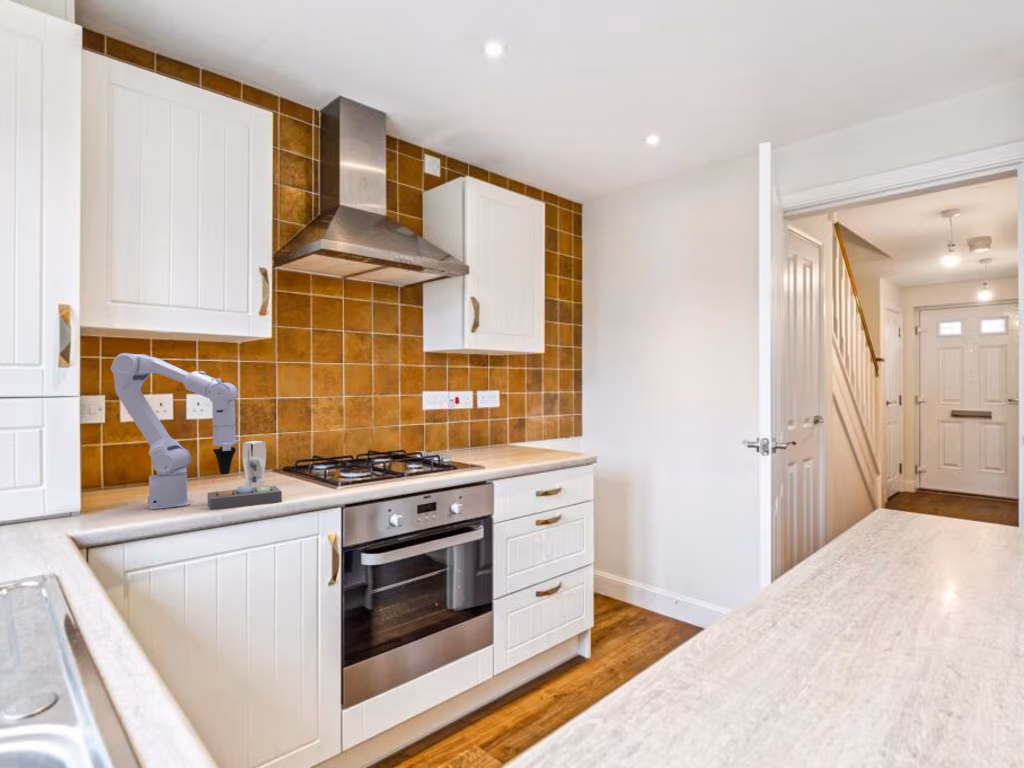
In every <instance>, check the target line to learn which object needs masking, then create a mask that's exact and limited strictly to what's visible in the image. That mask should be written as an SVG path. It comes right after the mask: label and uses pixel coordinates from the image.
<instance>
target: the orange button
mask: <svg viewBox="0 0 1024 768" xmlns="http://www.w3.org/2000/svg"><path fill="white" fill-rule="evenodd" d="M220 491H221V490H220ZM220 491H217V492H218V496H226V495H232V491H230V490H222V491H221V492H220Z"/></svg>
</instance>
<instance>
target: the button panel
mask: <svg viewBox="0 0 1024 768" xmlns="http://www.w3.org/2000/svg"><path fill="white" fill-rule="evenodd" d="M268 487H270V491H264V492H257V488H252V493H245V494H238V489H233V490H229V491H232V495H226V496H218V492H221V490H220V491H211V492H207V505H208V507H209V509H210V511H214V510H213V509H217V510H222V509H223V510H225V509H231V508H232V509H233V508H241V507H249V506H250V507H251V506H256V505H267V504H274V503H282V502H283V499H282V497H283V496H282V490H281V489H279V487H277V486H276V485H271V486H268ZM259 488H260V487H259Z"/></svg>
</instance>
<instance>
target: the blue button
mask: <svg viewBox="0 0 1024 768" xmlns="http://www.w3.org/2000/svg"><path fill="white" fill-rule="evenodd" d="M237 490H238V494H245V493H252V486H245V485H240V486H238V487H237Z"/></svg>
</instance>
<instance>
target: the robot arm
mask: <svg viewBox="0 0 1024 768" xmlns="http://www.w3.org/2000/svg"><path fill="white" fill-rule="evenodd" d="M109 369H110V370H111V372H112V374H113V380H114V381H113V382H114V392H115V394H116V395H117V398H119V401H120V402H121V404H123V406H124V408H125V410H126V411H127V412H128V414H129V416H130V417H131V419H132V420H133V422H134V423H135V425H136V427H137V428H138V430H139V431H140V433H141V434H142V436H143V438H144V439H145V441H146V442H147V445H149V451H148V456H149V457H150V458H151V459H150V460H151V465H152V468H153V470H154V471H155V472H156V474H154V475H153V474H151V475H149V476H148V487H149V490H148V493H149V494H148V496H147V503H149V510H158V509H168V508H177V507H187V506H190V505H191V504H190V500H189V499H188V473H187V472H188V470H187V467H188V466H189V465H190V463H191V461H192V460H191V459H192V456H191V454H190V453H191V452H189V450H188V449H186V448H184V447H183V446H182V445H181V444H180V443H179V441H177V440H175V439H174V438H172V437H171V436H170V434H169V433H168V430H166V428H165V427H164V424H162V422H161V420H160V418H159V417H158V415H157V414H156V413H155V410H153V407H152V406H151V405H150V403H149V401H148V400H147V399H146V397H145V395H144V394H143V392H142V390H141V389H142V386H143V384H144V382H145V381H146V380H147V378H148V377H149V376H150V375H151V374H158V375H160V376H163V377H165V378H169V379H172V380H174V381H176V382H180V383H183V385H184V387H185V389H186V390H187V391H189V392H193V393H195V394H197V395H200V396H202V397H204V398H207V399H209V400H210V402H211V403H212V441H211V445H212V446H217V447H219V448H213V449H212V451H213V453H214V455H215V459H216V461H217V465H218V469H219V471H218V472H219V474H220V475H228V474H230V472H231V471H230V470H231V467H232V461H233V457H234V455H235V453H236V451H237V449H236V447H234V446H233V445H235V444H240V443H241V440H240V439H236V409H235V408H236V402H235V401H236V400H237V398H238V396H239V391H238V388H237V387H236V386H235V385H234V384H232V382H229V381H227V382H222V379H221V378H219V377H218V378H217V377H216V378H214V377H212V376H210V375H207V373H206V371H203V370H199V371H198V370H194V371H192V372H188V371H186V370H184V369H182V368H180V367H178V366H175V365H173V364H171V363H169V362H166V361H165V360H162V359H160V358H159V357H158V358H157V357H155V356H150V355H148V354H145V353H138V354H137V353H128V352H122V353H119V354H117V356H116V357H114V359H113V361H112V364H111V366H110V368H109Z"/></svg>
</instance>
